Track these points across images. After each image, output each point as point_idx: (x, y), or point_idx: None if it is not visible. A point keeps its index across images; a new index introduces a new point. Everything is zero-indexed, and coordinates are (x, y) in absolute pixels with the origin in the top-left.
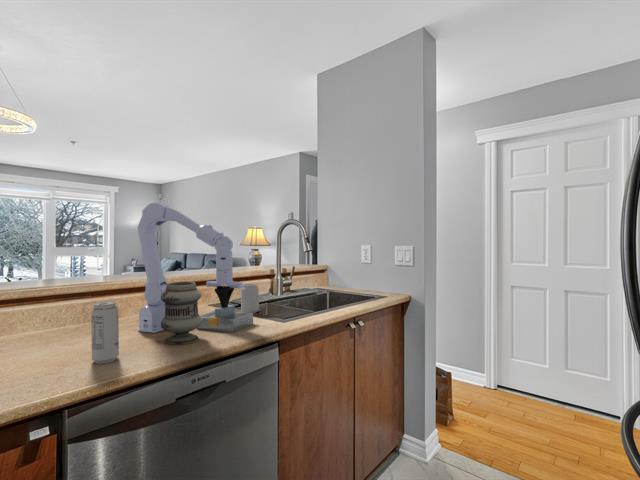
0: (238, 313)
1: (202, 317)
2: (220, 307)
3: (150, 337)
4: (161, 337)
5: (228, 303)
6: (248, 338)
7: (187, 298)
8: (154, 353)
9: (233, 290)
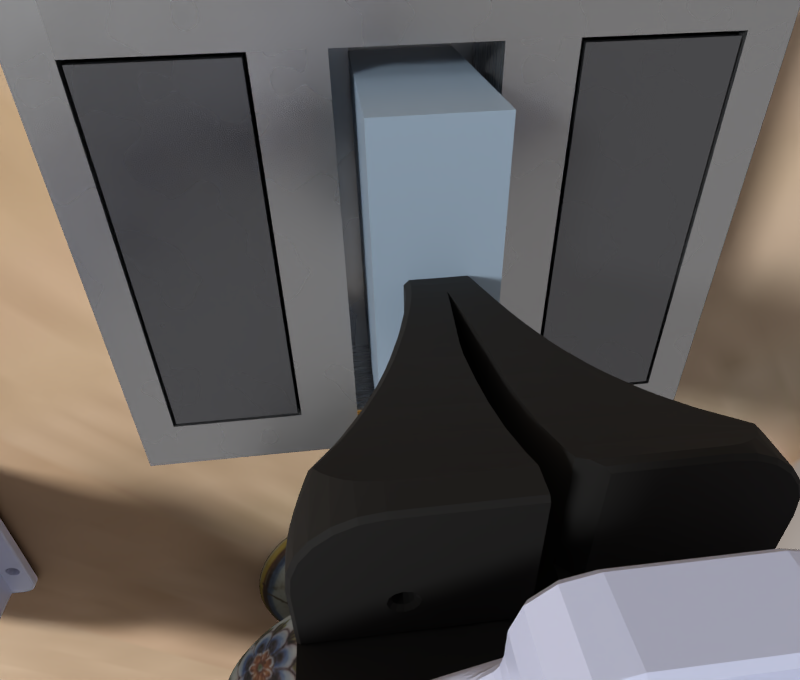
0: (574, 96)
1: (257, 451)
2: (386, 360)
3: (120, 617)
4: (186, 594)
5: (492, 298)
6: (795, 402)
7: None
8: None
9: (725, 424)
